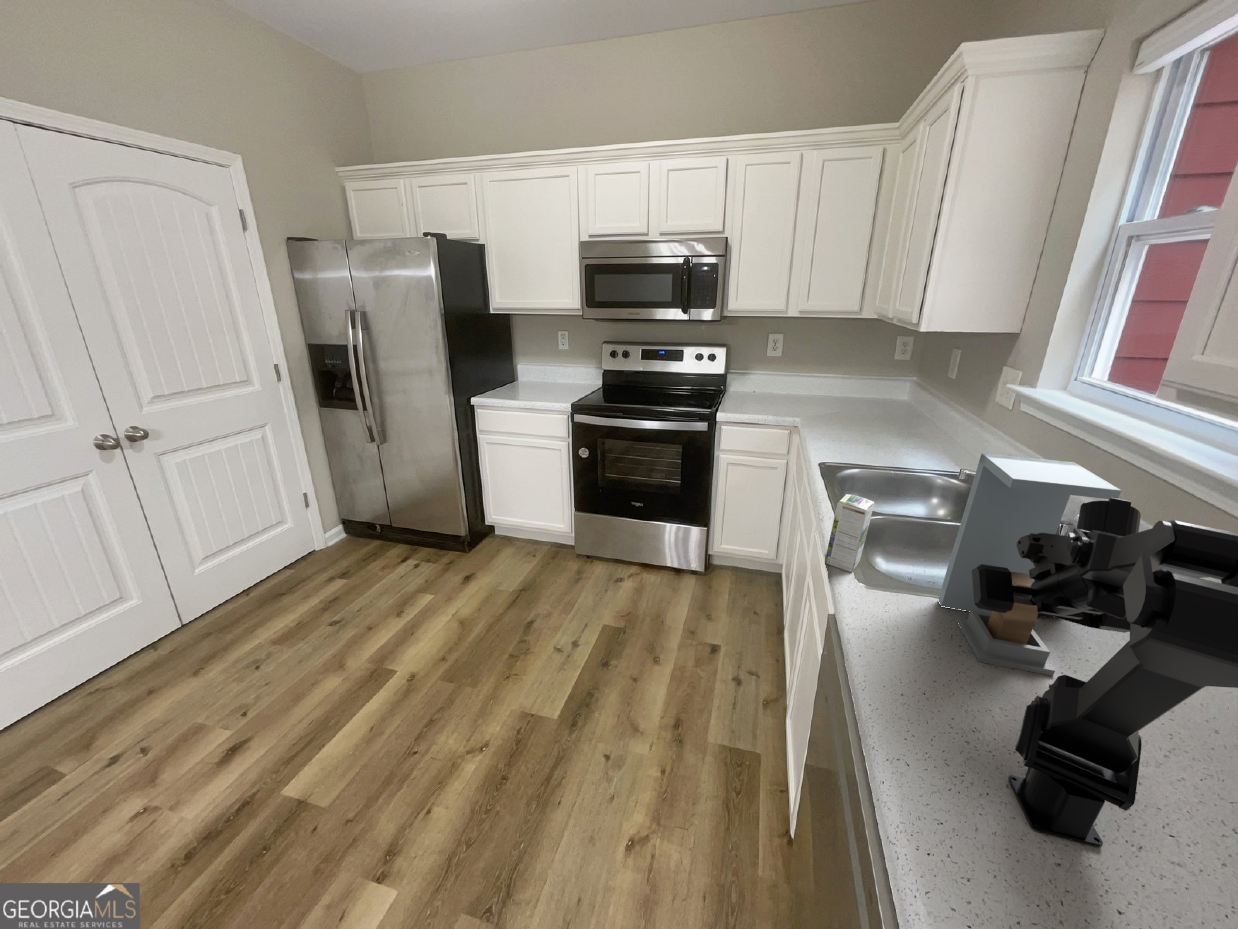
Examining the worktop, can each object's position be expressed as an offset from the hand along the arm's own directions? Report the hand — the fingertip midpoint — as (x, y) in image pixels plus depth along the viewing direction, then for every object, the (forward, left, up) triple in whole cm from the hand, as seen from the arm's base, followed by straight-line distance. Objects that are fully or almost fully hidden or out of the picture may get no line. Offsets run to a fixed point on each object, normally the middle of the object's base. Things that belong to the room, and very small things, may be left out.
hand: (1018, 607), depth 79 cm
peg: (+1, 0, -7) cm, 7 cm away
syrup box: (+21, +22, -9) cm, 31 cm away
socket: (+1, 0, -8) cm, 8 cm away
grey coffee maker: (+6, 0, -8) cm, 10 cm away
